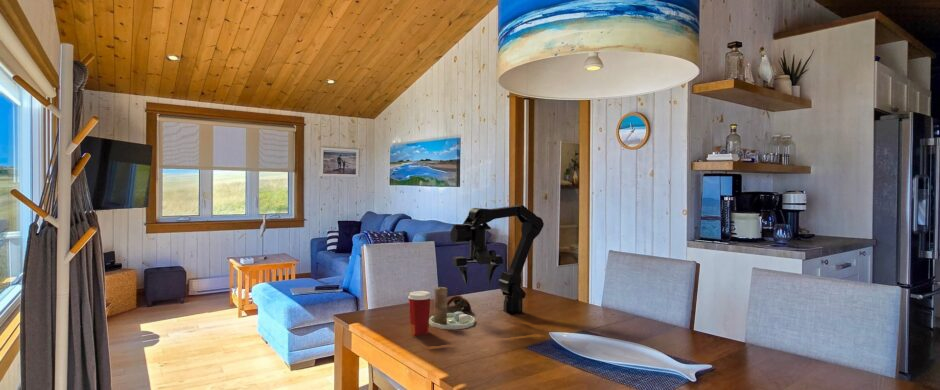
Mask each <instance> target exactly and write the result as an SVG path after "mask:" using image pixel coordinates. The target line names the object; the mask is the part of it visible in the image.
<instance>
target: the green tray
mask: <svg viewBox="0 0 940 390" xmlns="http://www.w3.org/2000/svg"><path fill="white" fill-rule="evenodd" d="M468 315H469V323H466V324H461V323H459V321H455V320H454V312H453V313H447V324H446V325H441V324H437V323H434V315H431V316H430V317H429V325H430V326H431V327H433V328H436V329H441V330H460V329H467V328H470V327H473V326H474V325H475V323H476V318H475V317H474V316H472V315H470V314H468Z"/></svg>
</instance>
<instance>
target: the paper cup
mask: <svg viewBox="0 0 940 390" xmlns="http://www.w3.org/2000/svg"><path fill="white" fill-rule="evenodd" d="M407 298H408V299H409V300H408V301H409V304H408V305H409V323H410V335H411V337H413V338H416V336H426V335H427V334H428V333H429V328H430V326H429V325H430V324H429V319H430V309H431V298H432V295H431V292H430V291H426V290H425V291H424V290H416V291H411V292H409V295H408V296H407Z"/></svg>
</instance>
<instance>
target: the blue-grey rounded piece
mask: <svg viewBox="0 0 940 390" xmlns="http://www.w3.org/2000/svg"><path fill="white" fill-rule="evenodd" d="M453 313H454V320H455V321H459V315H461V314H465V313H464V312H463V311H457V312H453Z"/></svg>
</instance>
